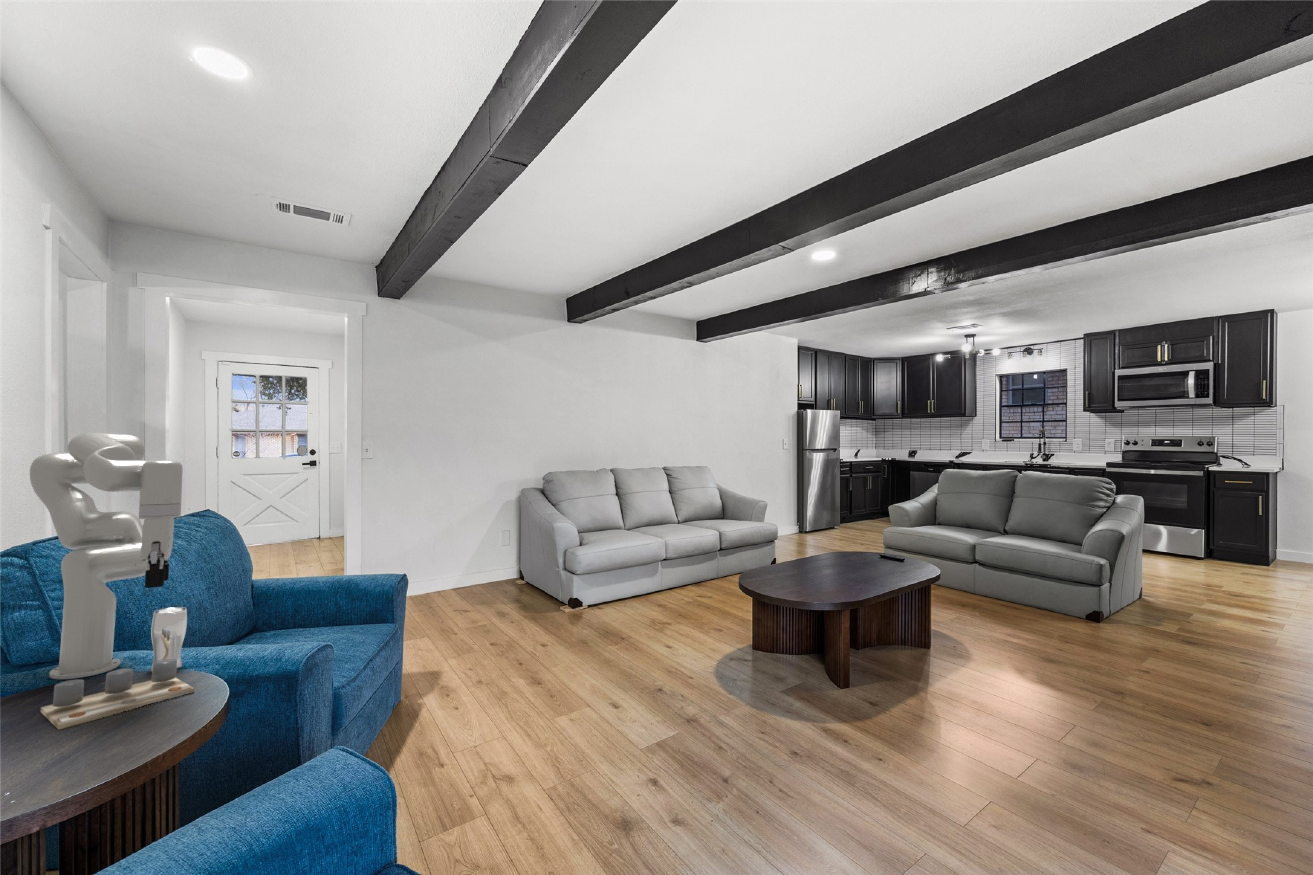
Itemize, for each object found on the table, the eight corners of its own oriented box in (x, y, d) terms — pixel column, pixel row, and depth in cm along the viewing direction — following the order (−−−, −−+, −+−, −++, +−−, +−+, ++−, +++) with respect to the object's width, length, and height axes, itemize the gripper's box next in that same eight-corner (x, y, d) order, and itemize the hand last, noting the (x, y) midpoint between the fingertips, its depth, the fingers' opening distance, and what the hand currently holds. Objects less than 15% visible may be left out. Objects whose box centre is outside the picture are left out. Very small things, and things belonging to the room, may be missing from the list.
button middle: (102, 690, 124) (103, 672, 124) (128, 684, 127) (129, 666, 128) (108, 695, 121) (109, 676, 122) (134, 688, 125) (136, 670, 125)
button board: (40, 711, 118) (41, 704, 118) (171, 679, 136) (171, 673, 136) (58, 729, 110) (59, 722, 110) (194, 692, 129) (194, 686, 129)
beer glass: (162, 674, 139) (166, 614, 140) (141, 671, 140) (145, 612, 141) (190, 664, 146) (194, 607, 147) (170, 662, 147) (173, 605, 148)
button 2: (148, 679, 130) (149, 662, 131) (172, 673, 134) (173, 657, 134) (155, 683, 128) (156, 666, 128) (179, 677, 132) (180, 660, 132)
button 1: (50, 703, 117) (51, 684, 117) (79, 696, 121) (80, 677, 121) (55, 708, 115) (57, 689, 115) (85, 701, 118) (86, 682, 119)
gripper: (144, 511, 137) (141, 580, 135) (133, 514, 123) (129, 591, 122) (184, 509, 141) (181, 576, 140) (177, 512, 127) (174, 587, 126)
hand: (157, 583), depth 131 cm, fingers open, 9 cm apart
